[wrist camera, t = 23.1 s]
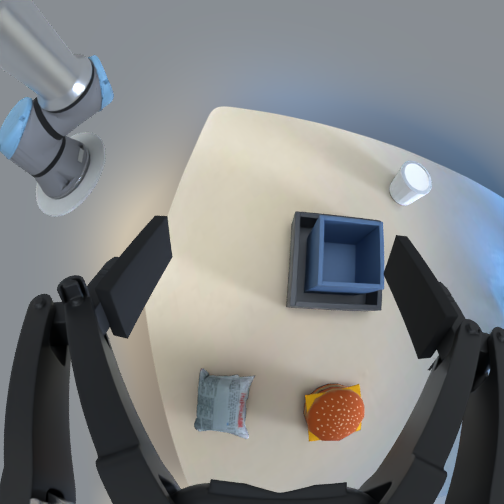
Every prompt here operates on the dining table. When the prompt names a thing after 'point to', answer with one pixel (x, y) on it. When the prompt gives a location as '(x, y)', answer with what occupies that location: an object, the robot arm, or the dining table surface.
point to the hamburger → (333, 412)
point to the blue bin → (344, 256)
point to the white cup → (410, 183)
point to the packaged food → (222, 403)
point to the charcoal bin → (296, 278)
